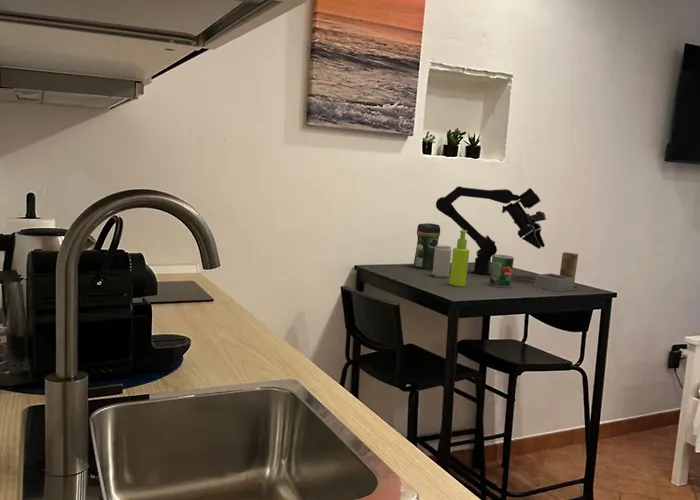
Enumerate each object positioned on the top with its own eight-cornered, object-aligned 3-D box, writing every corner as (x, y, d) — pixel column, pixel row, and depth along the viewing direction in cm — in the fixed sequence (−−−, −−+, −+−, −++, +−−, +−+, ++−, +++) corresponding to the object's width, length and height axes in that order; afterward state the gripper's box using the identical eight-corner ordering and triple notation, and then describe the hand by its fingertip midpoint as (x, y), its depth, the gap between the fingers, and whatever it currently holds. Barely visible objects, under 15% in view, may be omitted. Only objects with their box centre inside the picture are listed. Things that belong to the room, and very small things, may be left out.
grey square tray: (558, 291, 237) (560, 279, 236) (533, 285, 245) (534, 274, 244) (574, 290, 244) (576, 278, 243) (549, 284, 252) (551, 273, 251)
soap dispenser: (467, 284, 236) (473, 230, 234) (464, 287, 230) (470, 231, 227) (451, 281, 238) (457, 228, 236) (447, 284, 232) (453, 230, 229)
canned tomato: (509, 288, 236) (513, 258, 234) (488, 285, 238) (491, 256, 236) (510, 284, 243) (514, 256, 242) (489, 282, 245) (493, 253, 244)
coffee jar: (427, 265, 273) (432, 222, 271) (439, 269, 267) (444, 224, 264) (410, 266, 268) (414, 222, 265) (422, 269, 261) (426, 224, 259)
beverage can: (449, 278, 245) (453, 247, 244) (433, 277, 245) (436, 246, 244) (447, 275, 252) (450, 245, 250) (431, 274, 252) (434, 244, 250)
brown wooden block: (558, 285, 251) (562, 252, 249) (560, 284, 254) (565, 252, 253) (571, 287, 248) (575, 254, 247) (573, 286, 252) (578, 253, 250)
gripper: (531, 204, 247) (555, 237, 244) (540, 203, 264) (562, 234, 261) (507, 220, 252) (531, 253, 249) (517, 219, 268) (539, 250, 265)
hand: (542, 247), depth 256 cm, fingers open, 9 cm apart
